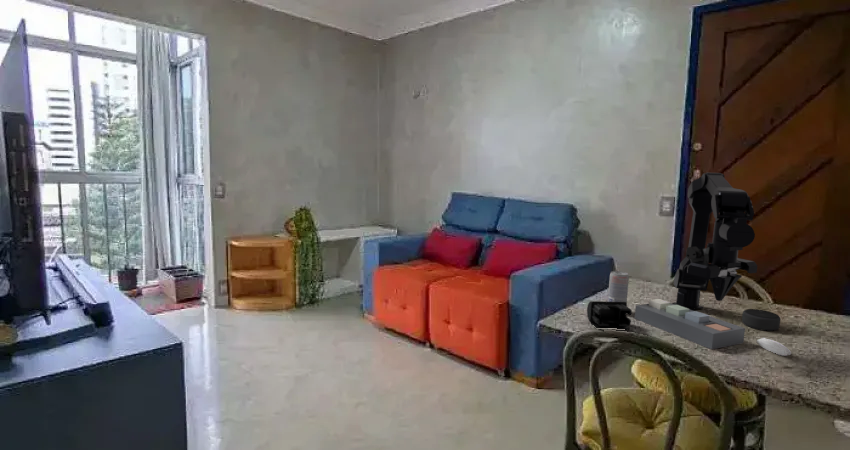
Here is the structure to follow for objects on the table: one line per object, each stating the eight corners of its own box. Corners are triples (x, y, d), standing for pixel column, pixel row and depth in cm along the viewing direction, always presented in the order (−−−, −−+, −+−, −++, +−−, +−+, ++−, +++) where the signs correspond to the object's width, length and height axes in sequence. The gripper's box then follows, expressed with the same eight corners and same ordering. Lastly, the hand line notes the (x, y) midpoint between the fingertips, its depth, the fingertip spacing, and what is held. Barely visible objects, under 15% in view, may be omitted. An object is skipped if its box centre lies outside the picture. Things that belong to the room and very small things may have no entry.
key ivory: (658, 306, 142) (658, 298, 141) (669, 310, 138) (670, 302, 138) (648, 308, 140) (649, 300, 140) (659, 312, 137) (660, 303, 136)
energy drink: (622, 309, 149) (626, 271, 147) (628, 314, 143) (631, 275, 142) (604, 308, 149) (608, 270, 148) (609, 313, 144) (613, 274, 142)
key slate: (694, 319, 131) (695, 311, 131) (708, 324, 127) (709, 315, 127) (684, 321, 129) (685, 312, 129) (698, 326, 126) (699, 317, 125)
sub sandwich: (783, 359, 114) (785, 348, 114) (753, 346, 122) (755, 335, 121) (794, 358, 115) (795, 347, 114) (764, 345, 122) (765, 334, 122)
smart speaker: (776, 324, 138) (778, 311, 138) (781, 334, 131) (783, 320, 130) (739, 319, 142) (741, 306, 142) (743, 328, 135) (744, 314, 134)
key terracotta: (715, 332, 126) (716, 323, 125) (729, 338, 122) (730, 328, 122) (704, 334, 124) (705, 325, 124) (719, 340, 121) (720, 330, 120)
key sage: (675, 313, 136) (676, 304, 136) (688, 317, 133) (689, 308, 132) (665, 314, 135) (666, 306, 134) (678, 319, 131) (679, 310, 131)
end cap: (620, 321, 137) (622, 299, 136) (631, 330, 130) (633, 306, 129) (585, 321, 137) (587, 298, 136) (595, 330, 130) (597, 306, 129)
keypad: (663, 314, 145) (665, 301, 144) (743, 343, 123) (745, 328, 122) (634, 318, 140) (635, 305, 139) (711, 349, 118) (713, 333, 118)
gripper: (720, 233, 131) (713, 288, 133) (671, 236, 124) (665, 295, 126) (762, 240, 121) (754, 300, 123) (712, 244, 114) (705, 307, 116)
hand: (718, 300), depth 122 cm, fingers closed
